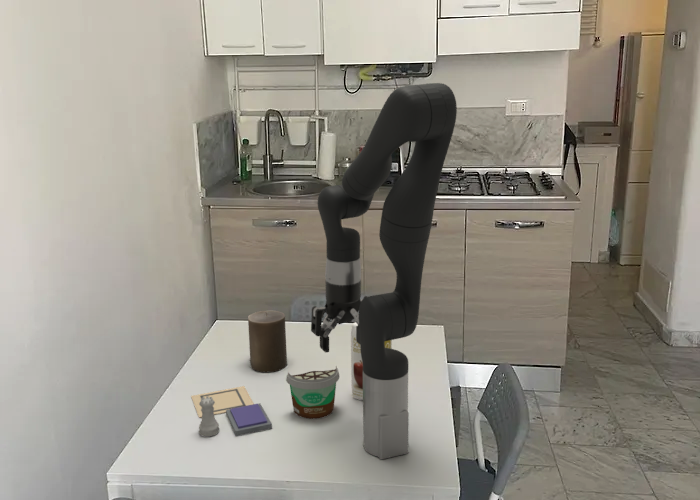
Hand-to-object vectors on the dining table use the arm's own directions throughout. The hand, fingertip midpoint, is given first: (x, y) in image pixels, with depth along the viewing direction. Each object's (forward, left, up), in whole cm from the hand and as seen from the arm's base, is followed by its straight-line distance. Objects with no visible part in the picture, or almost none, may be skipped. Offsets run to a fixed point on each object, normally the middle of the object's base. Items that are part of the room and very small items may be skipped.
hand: (343, 346), depth 149 cm
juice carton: (+7, -10, -17) cm, 21 cm away
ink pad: (+7, +20, -17) cm, 27 cm away
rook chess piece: (+6, +29, -17) cm, 35 cm away
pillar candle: (+34, +8, -18) cm, 39 cm away
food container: (+4, +5, -18) cm, 19 cm away
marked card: (+18, +24, -17) cm, 35 cm away
